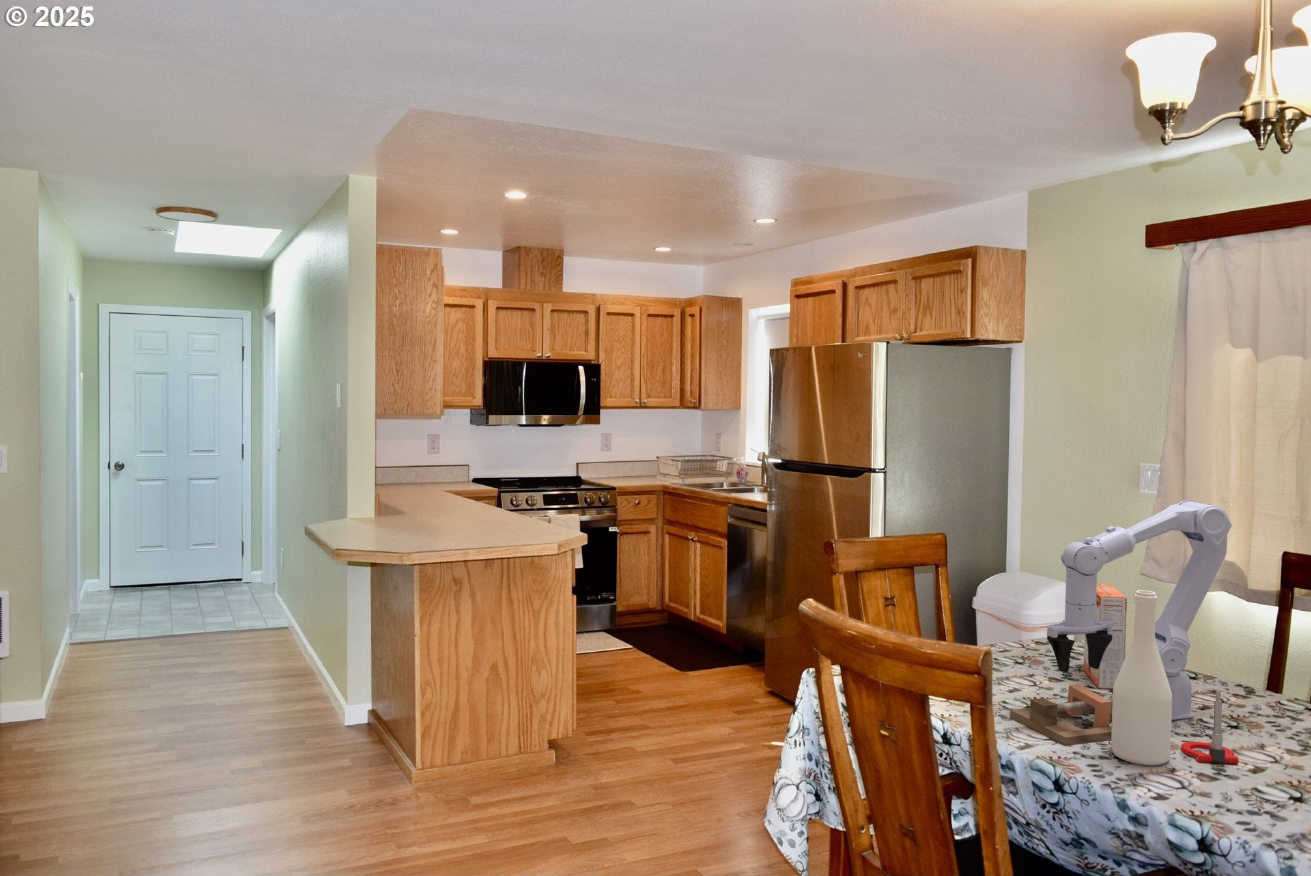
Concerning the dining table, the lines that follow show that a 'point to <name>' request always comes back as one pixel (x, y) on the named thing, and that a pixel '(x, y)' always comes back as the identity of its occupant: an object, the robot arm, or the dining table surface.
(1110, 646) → the cracker box
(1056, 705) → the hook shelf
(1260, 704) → the dining table surface
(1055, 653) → the robot arm
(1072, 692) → the wooden arch block
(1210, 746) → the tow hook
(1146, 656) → the wine bottle
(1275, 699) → the dining table surface
